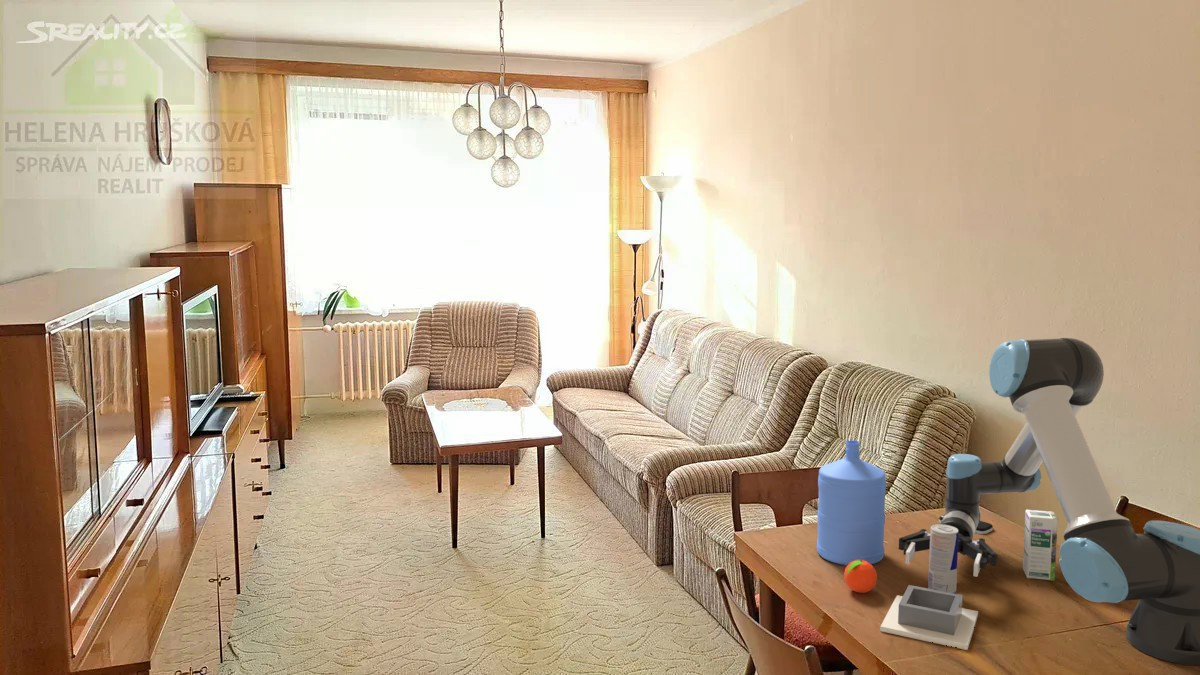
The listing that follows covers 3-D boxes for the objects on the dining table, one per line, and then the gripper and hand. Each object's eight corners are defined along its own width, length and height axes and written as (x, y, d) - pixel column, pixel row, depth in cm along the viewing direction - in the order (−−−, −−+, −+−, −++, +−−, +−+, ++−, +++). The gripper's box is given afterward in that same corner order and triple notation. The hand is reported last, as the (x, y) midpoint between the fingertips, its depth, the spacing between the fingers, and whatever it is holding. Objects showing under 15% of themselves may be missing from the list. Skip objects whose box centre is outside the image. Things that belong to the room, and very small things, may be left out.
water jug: (874, 572, 198) (878, 454, 194) (807, 559, 206) (810, 445, 202) (890, 549, 211) (894, 438, 207) (827, 538, 219) (829, 431, 215)
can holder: (978, 615, 176) (979, 592, 175) (967, 650, 162) (968, 625, 161) (896, 599, 184) (897, 577, 183) (880, 631, 170) (881, 607, 169)
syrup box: (1026, 578, 193) (1030, 516, 191) (1022, 568, 199) (1025, 508, 197) (1054, 581, 192) (1058, 518, 190) (1049, 571, 197) (1053, 510, 195)
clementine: (858, 602, 183) (859, 570, 182) (833, 590, 189) (834, 560, 188) (883, 592, 187) (884, 561, 186) (858, 582, 193) (858, 551, 192)
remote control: (983, 536, 220) (983, 529, 220) (936, 523, 230) (936, 516, 229) (994, 530, 224) (995, 523, 223) (948, 518, 234) (948, 511, 233)
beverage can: (958, 601, 183) (961, 533, 181) (930, 599, 184) (933, 532, 182) (953, 590, 188) (955, 524, 186) (926, 588, 189) (928, 522, 187)
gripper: (1014, 557, 195) (1004, 592, 177) (899, 538, 207) (879, 569, 189) (1015, 525, 194) (1006, 558, 176) (900, 508, 206) (880, 537, 188)
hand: (940, 564), depth 182 cm, fingers open, 13 cm apart
